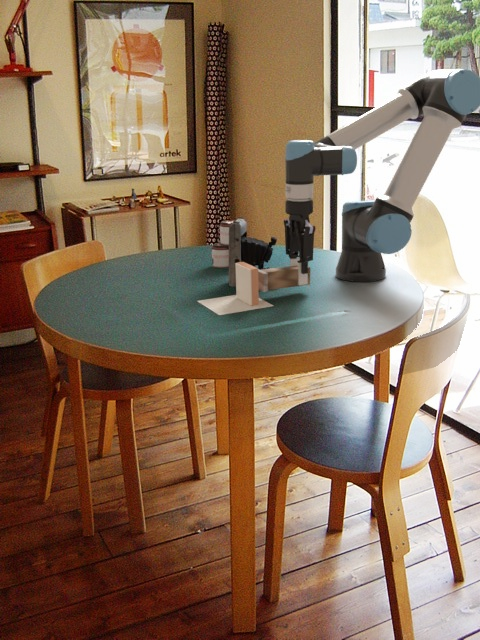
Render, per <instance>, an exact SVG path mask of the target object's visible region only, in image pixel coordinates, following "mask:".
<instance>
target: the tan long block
mask: <svg viewBox="0 0 480 640" xmlns="http://www.w3.org/2000/svg"><path fill="white" fill-rule="evenodd" d="M308 285H309V286H310V285H311V266H309V265H308V284H305V285H298V265H297V266H290V265H289V266H281V267H273V268H272V267H271V268H269V269H267V268H266V269H262V270H259V269H258V286H259V291H261V292H263V293H266V292H268V291H271V290H280V289H286V288H295V287H296V288H297V287H302V286H308Z"/></svg>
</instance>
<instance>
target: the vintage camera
mask: <svg viewBox="0 0 480 640" xmlns="http://www.w3.org/2000/svg"><path fill="white" fill-rule="evenodd" d="M277 241H278V239H277V238H276V237H274V236H271V237H270V241H268V242H265V241H264V240H261V239H258V238H255V237H254V238H252V237H249V236H248V222H247V220H246V219H245V218H244V217H243V216H238V218H237V219H236V221H234V222H233V223H232V224H231V225H230V227H229V268H228V285H229V286H230V287H236V265H235V263H237V262H245V263H247V264H249V265H252V266H254V267H256V266H257V268H258V269H259V270H262V269H270V267H264V266H265V265H264V264H265V263H269V261H270V260H271V258H272V255H273V251H274V248H273V246H276V244H277Z"/></svg>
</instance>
